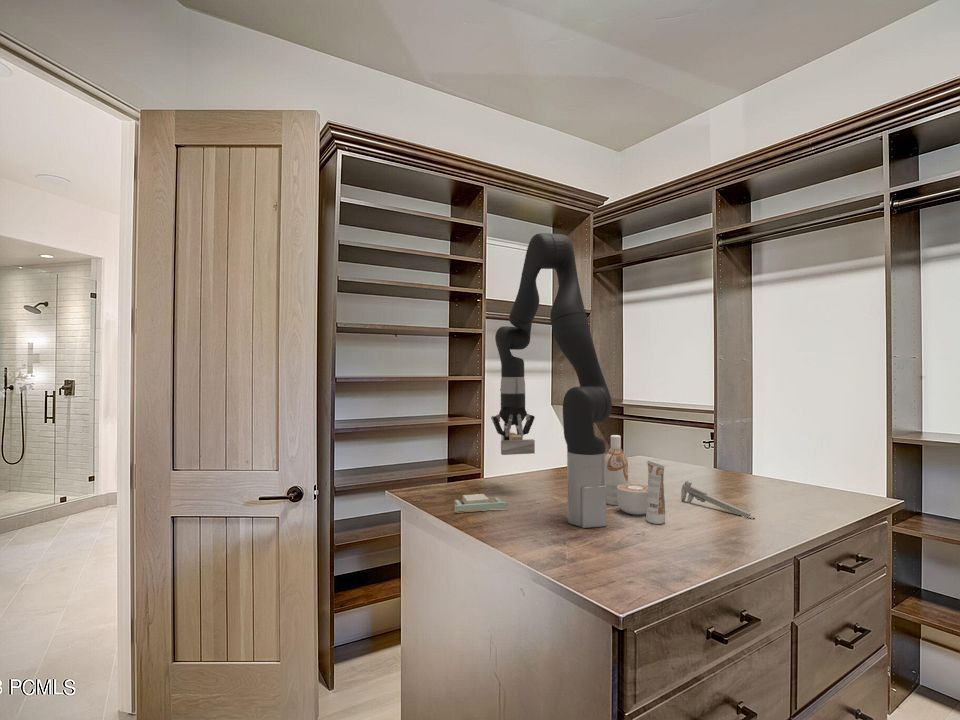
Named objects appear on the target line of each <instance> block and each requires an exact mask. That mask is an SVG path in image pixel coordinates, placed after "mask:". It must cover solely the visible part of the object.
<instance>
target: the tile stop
mask: <svg viewBox="0 0 960 720" xmlns="http://www.w3.org/2000/svg"><path fill="white" fill-rule="evenodd" d="M490 509H507V510H508V502H507V501H502V500H501V499H500V498H499V497H498V496H495V497H493V502H489V503H478V504H463V503H462V502H461V501H460V500H459V499H454V513H455V512H457V511H471V510H490Z"/></svg>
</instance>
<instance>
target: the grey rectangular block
mask: <svg viewBox="0 0 960 720" xmlns="http://www.w3.org/2000/svg"><path fill="white" fill-rule="evenodd" d="M500 437H501V438H500V439H501V440H500V455H502V456H508V455H530V454H536V453H535V451H536V450H535V448H536V447H535V442H536V440H535V439H533V438H532V439H523V440H522V436H520V435H518V434H517V433H515V432H513V431H511V430H510V433H509V440H504V437H503V435H500Z"/></svg>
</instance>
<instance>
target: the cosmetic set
mask: <svg viewBox="0 0 960 720" xmlns="http://www.w3.org/2000/svg"><path fill="white" fill-rule="evenodd" d="M621 438H622V436H621V435H619V434H612V435H610V448H609V449H608V451H607V452H606V453H605V458H606V464H605V475H606V505H610V506H618V507H619V509H621V510H622V511H623V512H624V513H626V514H629V515H634V516H642V515H645V518H646V521H647V522H648V523H650V524H654V525H662V524H665V522H666V504H665V503H666V501H665V486H664V473H665V465H663V464H660V463H657V462H654V461H649V460H647V468H648V469H647V470H648V471H647V472H648V473H647V475H648V477H647V478H648V479H647V480H648V481H647V484H642V483H629V463H628V459H627V456H626V454H625V452H624V450H623V449H622V448H621V447H622V440H621Z"/></svg>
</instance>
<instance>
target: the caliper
mask: <svg viewBox="0 0 960 720" xmlns="http://www.w3.org/2000/svg"><path fill="white" fill-rule="evenodd" d="M692 484H693V483H692V482H689V480H685V482H684V483H683V484H682V485H681V490H680V493H681V494H680V499H681V502H683V503H684V502H686V504H692V501H693V500H694V499H695V500H696V501H699V502H701V503H705V502H707V503H710V504H712V505H714V506H717V507H719V508H721V509H724V510H726V511H729V513H732V514H735V515H736V516H739V515H741V516H744V517H749V518H748V519H750V518H755V516H753V515H752V513H751V512H748V511H746V510H743V509H741V508H740V507H737V506H734V505H732V504H730V503H727V502H725V501H723V500H721V499H718V498H716V497H714V496H711V495H709V494H708V493H707V492H706V491H704V490H701V489H699V488H697V487H695V486H692ZM687 495H688V496H687ZM686 498H687V501H686ZM741 516H740V517H741ZM744 517H743V518H744Z"/></svg>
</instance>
